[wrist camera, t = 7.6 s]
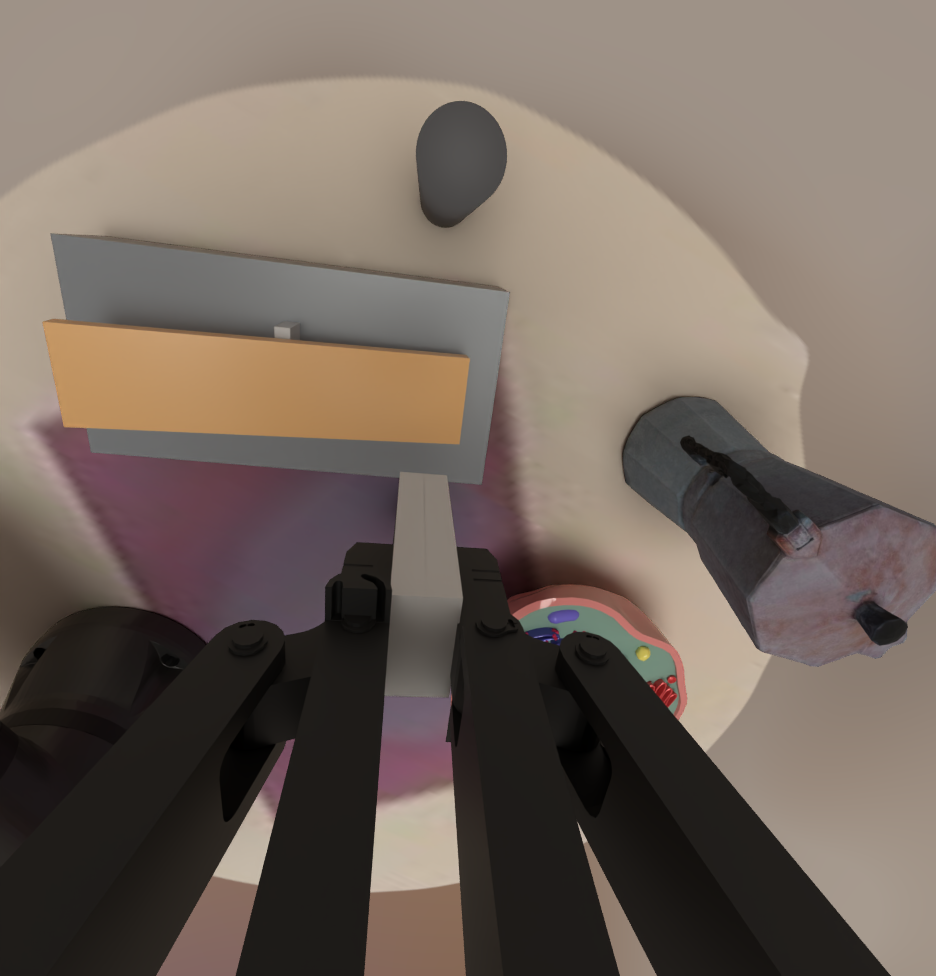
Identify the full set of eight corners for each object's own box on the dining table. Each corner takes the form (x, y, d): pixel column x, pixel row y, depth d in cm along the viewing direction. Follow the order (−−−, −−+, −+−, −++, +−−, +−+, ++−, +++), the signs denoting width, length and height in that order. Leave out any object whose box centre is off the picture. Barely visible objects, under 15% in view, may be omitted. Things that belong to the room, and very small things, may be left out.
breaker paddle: (73, 420, 26) (63, 427, 25) (53, 318, 24) (42, 321, 23) (456, 438, 31) (459, 444, 30) (466, 354, 29) (470, 358, 28)
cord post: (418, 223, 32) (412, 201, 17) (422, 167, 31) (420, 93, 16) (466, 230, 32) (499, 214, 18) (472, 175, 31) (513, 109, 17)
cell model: (524, 736, 52) (549, 856, 41) (409, 602, 44) (404, 710, 34) (679, 658, 49) (747, 767, 38) (585, 501, 41) (638, 584, 31)
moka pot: (688, 545, 43) (875, 757, 25) (557, 437, 38) (674, 603, 20) (779, 462, 41) (1063, 632, 23) (652, 334, 36) (883, 420, 18)
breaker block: (133, 426, 36) (67, 466, 29) (105, 236, 31) (18, 231, 24) (475, 457, 39) (485, 499, 32) (498, 286, 34) (516, 295, 27)
